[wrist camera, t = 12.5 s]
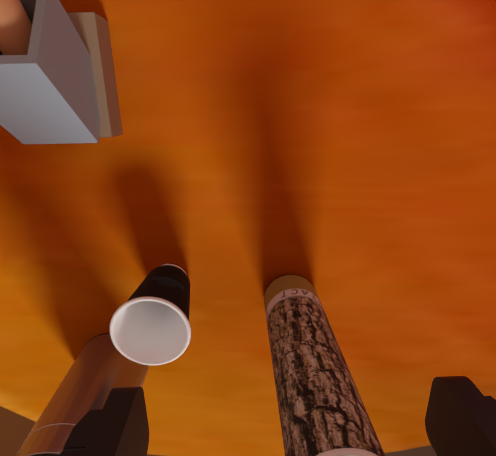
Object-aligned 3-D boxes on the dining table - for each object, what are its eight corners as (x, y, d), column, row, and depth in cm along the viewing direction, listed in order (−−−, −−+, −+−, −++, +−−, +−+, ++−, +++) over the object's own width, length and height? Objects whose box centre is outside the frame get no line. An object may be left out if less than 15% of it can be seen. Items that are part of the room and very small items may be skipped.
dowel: (47, 122, 33) (-43, -19, 22) (34, 103, 34) (-58, -40, 23) (77, 109, 34) (5, -33, 23) (64, 90, 35) (-11, -53, 24)
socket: (122, 137, 39) (66, 155, 26) (40, 139, 39) (-58, 157, 26) (106, 12, 35) (30, -41, 22) (14, 13, 35) (-117, -39, 22)
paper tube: (300, 324, 48) (362, 538, 24) (255, 307, 47) (273, 514, 23) (324, 283, 46) (416, 472, 22) (276, 264, 45) (321, 443, 21)
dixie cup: (151, 314, 47) (127, 374, 36) (128, 261, 44) (95, 309, 34) (208, 299, 46) (201, 355, 36) (189, 244, 44) (175, 289, 33)
